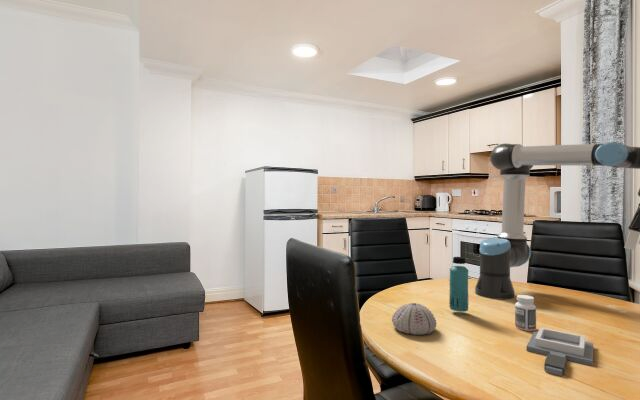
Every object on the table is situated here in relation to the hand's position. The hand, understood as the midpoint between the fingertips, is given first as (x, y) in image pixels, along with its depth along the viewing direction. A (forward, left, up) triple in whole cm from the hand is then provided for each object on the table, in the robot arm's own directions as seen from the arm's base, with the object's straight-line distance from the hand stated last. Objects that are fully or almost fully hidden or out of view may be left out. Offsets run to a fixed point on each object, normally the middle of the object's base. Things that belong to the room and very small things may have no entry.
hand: (636, 247), depth 118 cm
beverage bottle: (-49, -26, -25) cm, 61 cm away
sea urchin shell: (-55, -51, -26) cm, 79 cm away
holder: (-18, -46, -25) cm, 55 cm away
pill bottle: (-28, -28, -25) cm, 47 cm away
